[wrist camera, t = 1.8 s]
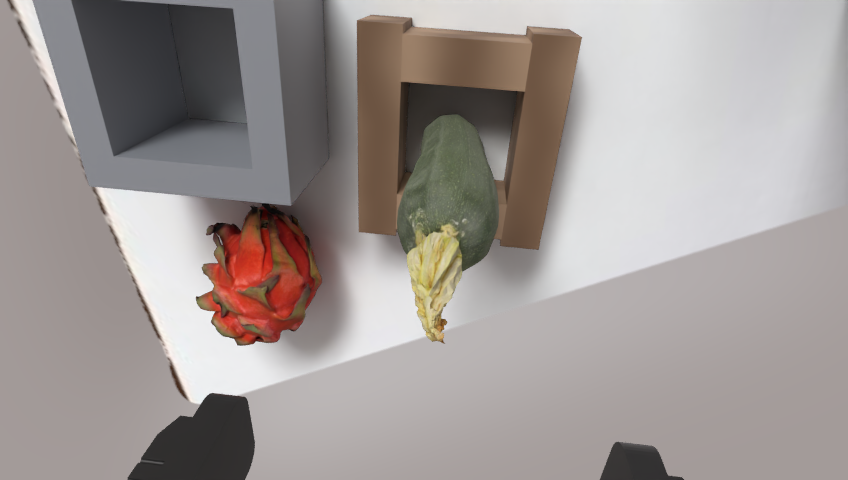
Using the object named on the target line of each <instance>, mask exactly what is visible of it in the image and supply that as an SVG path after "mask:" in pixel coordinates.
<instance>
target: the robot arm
mask: <svg viewBox="0 0 848 480" xmlns="http://www.w3.org/2000/svg"><path fill="white" fill-rule="evenodd" d="M254 448H255V441H254V435H253V429H252V423H251V417H250V411H249V405H248V401H247V399H246V398H245V397H241V396H233V395H224V394H216V393H211V394H209V395H208V396H207V397H206V398H205V399H204V400H203V402H202V403H201V405H200V407H199V408H198V410H197V411H196V413H195V415H194V416H193V417H187V416H180V417H178V418H177V419H176V420H175V421H174V422H172V423H171V424H170V425H169V426H167V427H166V428H165V429H164V430H162V431H161V432H160V433H159V434H158V435H157V436H156V438H155V439H154V440H153V442H152V443H151V445H150V446H149V448H148V449H147V450H146V452H145V453H144V455H143V456H142V458H141V462H140V463H138V464H137V465H136V467H135V468H134V469H133V471H132V472H131V474H130V475H129V477H128V480H245V478H246V476H247V474H248V472H249V469H250V466H251V463H252V459H253V455H254ZM600 480H684V479H683V478H682V477H673V476H668V475H667V473H666V470H665V467H664V464H663V462H662V459H661V457H660V454H659V452H658V451H657V449H656V448H655V447H653V446H648V445H640V444H631V443H623V442H616V443H615V444H614V445H613V447H612V450H611V452H610V455H609V457H608V460H607V462H606V465H605V468H604V470H603V473H602V476H601V478H600Z"/></svg>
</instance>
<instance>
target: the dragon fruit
mask: <svg viewBox="0 0 848 480" xmlns="http://www.w3.org/2000/svg"><path fill="white" fill-rule="evenodd" d="M240 202H241V201H240ZM262 206H263V207H260V208H258V207H255V206H254V207H253V206H250V207H251V208H252V210H251V211H250V212H249V213H248V215H247V216H246V218H245V220H244V224H243V228H242V231H241V230H240V229H239V228H238V227H237V226H236V225H235V224H232V225H230V224H225V223H216V224H215V225H211V226H209V227H208V229H207V233H206V235H211V234H212V233H214V236H213V240H214V242H215V244H216V246H217V248H216V250H215V251H214V256H215V258H216V259H217V261H218V263H215V264H214V263H208V264H204V265H203V267H202V270H203V273H204V274H205V275H207V276H208V277H209V279H210V280H211V282H212V283H213V284H214V288H213V290H212V291H210V292H208V293H206V294H204V295H202V296H200V297H196V301H197V304H198V306H199V307H200V308H201V309H203V310H207V311H216V312H215V313H214V315H213V317H212V320H211V323H212V324H213V325H214V326H215V327H216V330H217V331H218V332H219V333H220V334H221V335H223V336H225V337H230V338H233V339H235V341H236V343H237V345H241V346H243V345H250V344H254V343H255V342H256V341H258V342H264V343H274V342H277V341H278V340H279V338H280V333H281V331H283V330H287V329H289V330H291V331H296V330H297V329H298V328H299V326H300V325H301V324H302V322H303V320H304V318H305V310H306V308H307V307H308V306H309V304H310V302H311V301H312V299H313V297H314V296H315V293H316V291H317V289H318V287H319V286H320V285H321V283H322V278H321V276H320V274H319V271H318V268H317V266H316V263H315V258H314V254H313V251H312V249H311V246H310V242H309V238H308V237H307V235H305V234H304V233H303V230H302V228H301V227H300V225H299V223H298V220H297V219H295V218H294V217H293V216H292V215H291V217H292V222H291V221H290V220H289V218H288V217H287V216H286V215H285V214H284V213H282V212H281V211H279V210H278V209H277V207H275V206H273V205H271V206H270V205H269V204H268V203H262ZM216 233H217V234H218V235H219V236H220V238H221V240H222V244H223V245H221V243H220V240H219V237H218V236H217V234H216Z"/></svg>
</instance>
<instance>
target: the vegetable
mask: <svg viewBox="0 0 848 480" xmlns="http://www.w3.org/2000/svg"><path fill="white" fill-rule="evenodd" d="M498 222H499V204H498V193H497V188H496V184H495V182H494V179H493V175H492V172H491V169H490V167H489V164H488V162H487V158H486V155H485V153H484V148H483V144H482V142H481V139H480V137H479V134H478V132H477V130H476V128H475V127H474V125H473V124H471V123H470V122H468V121H467V120H466V119H464V118H463V117H461V116H460V115H457V114H454V115H442V116H439V117H438V118H436V119H435V120H434V121H433V122H432V123H430V124H429V125H428V126H427V127H426V128H425V130H424V134H423V138H422V143H421V156H420V157H419V159H418V161H417V162H416V164H415V167H414V170H413V173H412V175H411V176H410V178H409V180H408V182H407V184H406V187H405V189H404V192H403V195H402V198H401V201H400V205H399V208H398V215H397V230H398V234H399V237H400V241H401V244H402V247H403V249H404V251H405V253H406V254H407V264H408V268H409V272H410V276H411V283H412V289H413V291H414V292H415V295H416V296H415V301H416V302H415V305H416V306H417V307H418V308H419V309H418V311H417V314H418V317H419V318H420V320H421V322H422V326H423V329H424V330H425V331H426V336H427V337H428V338H429V339H430V340H431V341H432V342H433V341H440V342H442V343H444V342H443V338H444V333H441V332H442V330H444V325H446V324H447V321H446V320H445V319H441V313H442V311H443V307H445V306H446V304H447V303H448V302H449V300H450V299H451V298H452V294H453V293H454V291H455V288H456V285H457V284H458V282H459V281H460V279H461V276H462V271H464V270H466V269H468V268H470V267H471V266H473V265H475V264H476V263H478V262H479V261H481V260H482V259H483V258H484V257H485V256H486V255H487V253H488V251H489V249H490V246H491V244H492V241H493V239H494V237H495V234H496V231H497V228H498Z"/></svg>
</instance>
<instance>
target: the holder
mask: <svg viewBox="0 0 848 480" xmlns="http://www.w3.org/2000/svg"><path fill="white" fill-rule="evenodd" d="M33 3H34V7H35V10H36V13H37V16H38V20H39V23H40V26H41V29H42V33H43V36H44V39H45V43H46V46H47V49H48V52H49V56H50V59H51V62H52V65H53V69H54V72H55V75H56V78H57V82H58V85H59V88H60V91H61V95H62V98H63V101H64V105H65V108H66V111H67V114H68V118H69V121H70V124H71V127H72V131H73V134H74V137H75V140H76V144H77V147H78V150H79V153H80V157H81V160H82V163H83V167H84V170H85V173H86V176H87V180H88V183H89V186H93V187H103V188H113V189H124V190H134V191H144V192H155V193H165V194H175V195H186V196H196V197H206V198H216V199H227V200H237V201H247V202H258V203H268V204H278V205H289V206H291V205H292V204H293V203H294V202H295V200H296V199H297V198H298V197H299V195H300V194H301V193H302V192H303V190H304V189H305V188H306V187H307V185H308V184H309V183H310V182H311V180H312V179H313V178H314V177H315V175H316V174H317V173H318V172H319V170H320V169H321V168H322V167H323V165H324V164H325V163H326V162H327V160H328V159H329V145H328V120H327V95H326V70H325V46H324V21H323V0H33ZM168 4H178V5H191V6H205V7H219V8H232V9H233V13H234V21H235V29H236V37H237V46H238V54H239V62H240V70H241V78H242V86H243V94H244V102H245V110H246V118H247V124H244V123H233V122H221V121H210V120H199V119H188V114H187V108H186V103H185V97H184V92H183V86H182V81H181V75H180V70H179V64H178V59H177V54H176V48H175V43H174V37H173V32H172V26H171V21H170V15H169V10H168Z"/></svg>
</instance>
